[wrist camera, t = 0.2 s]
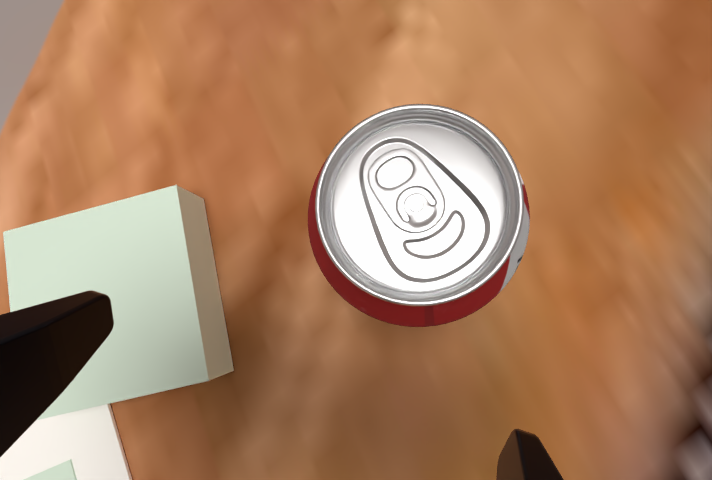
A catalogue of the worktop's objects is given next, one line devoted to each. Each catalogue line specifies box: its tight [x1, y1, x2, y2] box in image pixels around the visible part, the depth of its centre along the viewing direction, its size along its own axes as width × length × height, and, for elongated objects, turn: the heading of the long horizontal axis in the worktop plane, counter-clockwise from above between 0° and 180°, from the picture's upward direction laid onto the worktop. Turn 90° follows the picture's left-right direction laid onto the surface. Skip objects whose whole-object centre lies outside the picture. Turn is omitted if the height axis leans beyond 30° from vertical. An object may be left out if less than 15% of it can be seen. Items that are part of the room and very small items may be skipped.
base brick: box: [3, 185, 234, 420], centre depth 23 cm, size 10×10×3 cm
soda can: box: [308, 104, 530, 327], centre depth 17 cm, size 7×7×12 cm
